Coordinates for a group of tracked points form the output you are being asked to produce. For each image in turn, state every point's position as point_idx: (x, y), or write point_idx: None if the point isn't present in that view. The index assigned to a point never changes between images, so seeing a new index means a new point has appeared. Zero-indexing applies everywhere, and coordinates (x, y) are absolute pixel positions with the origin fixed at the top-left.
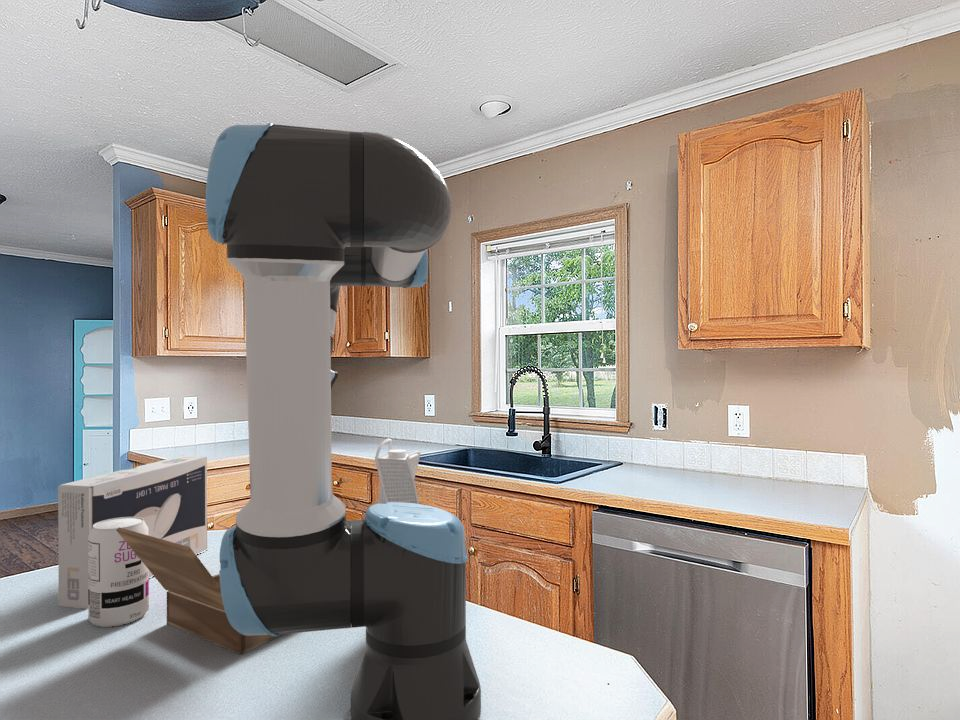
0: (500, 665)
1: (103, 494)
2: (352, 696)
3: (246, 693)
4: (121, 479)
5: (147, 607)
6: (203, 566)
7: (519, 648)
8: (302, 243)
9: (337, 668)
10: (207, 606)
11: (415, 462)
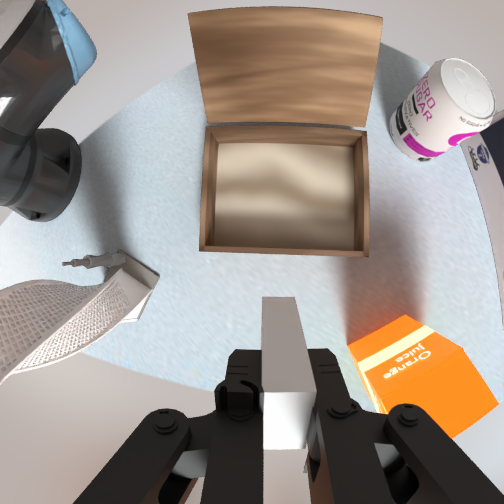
0: (31, 259)
1: None
2: (63, 133)
3: (157, 107)
4: None
5: (400, 148)
6: (193, 45)
7: None
8: None
9: (117, 178)
10: (274, 125)
11: None
